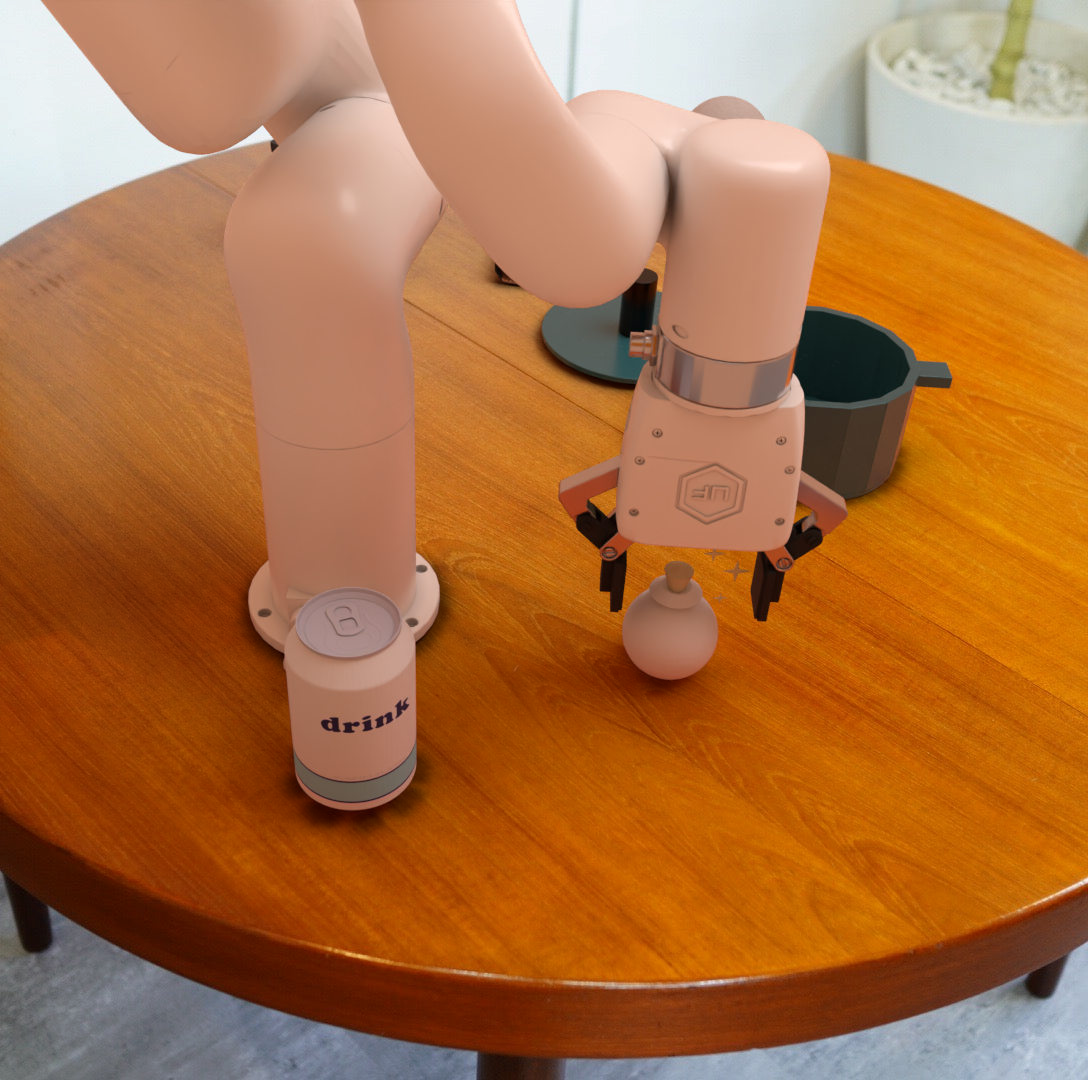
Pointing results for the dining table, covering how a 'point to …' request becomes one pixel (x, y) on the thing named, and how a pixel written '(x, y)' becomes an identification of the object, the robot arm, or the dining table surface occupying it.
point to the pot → (856, 398)
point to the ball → (728, 108)
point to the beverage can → (352, 698)
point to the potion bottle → (672, 624)
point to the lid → (605, 331)
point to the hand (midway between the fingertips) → (686, 601)
